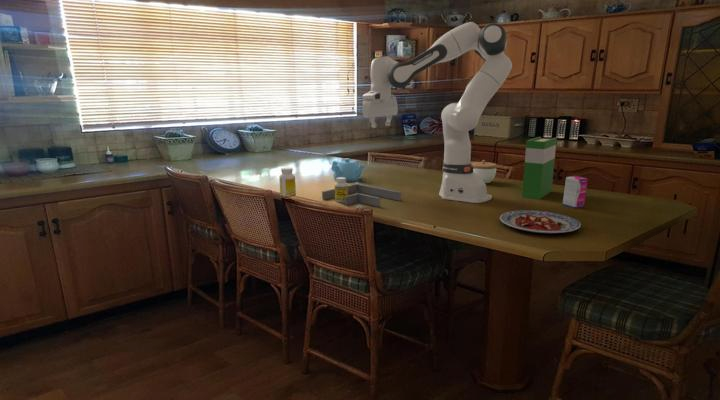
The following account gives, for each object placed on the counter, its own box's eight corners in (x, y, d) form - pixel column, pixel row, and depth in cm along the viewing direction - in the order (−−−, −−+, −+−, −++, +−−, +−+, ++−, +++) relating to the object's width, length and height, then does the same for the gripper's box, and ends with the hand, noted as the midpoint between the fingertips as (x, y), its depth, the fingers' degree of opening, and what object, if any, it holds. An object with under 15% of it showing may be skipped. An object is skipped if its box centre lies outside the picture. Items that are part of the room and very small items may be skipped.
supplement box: (574, 208, 183) (577, 179, 180) (562, 205, 188) (564, 176, 185) (584, 206, 185) (588, 178, 183) (572, 203, 190) (575, 175, 188)
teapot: (360, 176, 248) (359, 155, 245) (365, 181, 233) (365, 160, 231) (331, 177, 245) (330, 156, 243) (334, 183, 231) (334, 161, 228)
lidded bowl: (499, 181, 232) (500, 159, 230) (491, 186, 222) (492, 163, 219) (474, 178, 239) (475, 157, 236) (465, 183, 229) (466, 160, 226)
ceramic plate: (490, 230, 157) (490, 221, 156) (510, 212, 178) (510, 204, 178) (573, 243, 144) (574, 234, 143) (584, 222, 165) (585, 214, 165)
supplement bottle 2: (347, 199, 199) (347, 176, 197) (348, 202, 194) (347, 179, 192) (334, 199, 199) (334, 176, 197) (335, 202, 194) (334, 179, 191)
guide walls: (400, 200, 197) (401, 192, 196) (366, 210, 182) (366, 201, 181) (357, 191, 213) (357, 183, 213) (322, 199, 198) (322, 191, 198)
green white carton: (534, 189, 215) (539, 136, 209) (551, 191, 211) (556, 137, 205) (522, 196, 202) (526, 140, 196) (539, 199, 197) (545, 141, 191)
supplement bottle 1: (299, 197, 203) (298, 167, 200) (290, 200, 197) (289, 170, 194) (285, 195, 206) (284, 166, 203) (277, 199, 200) (275, 169, 197)
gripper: (390, 94, 216) (390, 124, 219) (359, 95, 201) (360, 128, 205) (401, 94, 212) (400, 125, 215) (370, 95, 197) (371, 129, 201)
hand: (380, 126), depth 210 cm, fingers open, 8 cm apart
